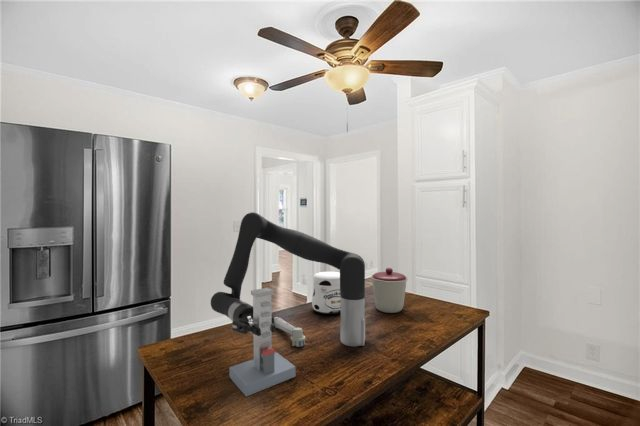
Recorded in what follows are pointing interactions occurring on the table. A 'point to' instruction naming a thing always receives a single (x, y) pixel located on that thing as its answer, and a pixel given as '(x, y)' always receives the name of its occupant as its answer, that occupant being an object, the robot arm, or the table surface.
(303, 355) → the table surface
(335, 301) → the milk container
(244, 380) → the stand base
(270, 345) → the column
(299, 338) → the toothbrush head
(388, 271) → the canister
